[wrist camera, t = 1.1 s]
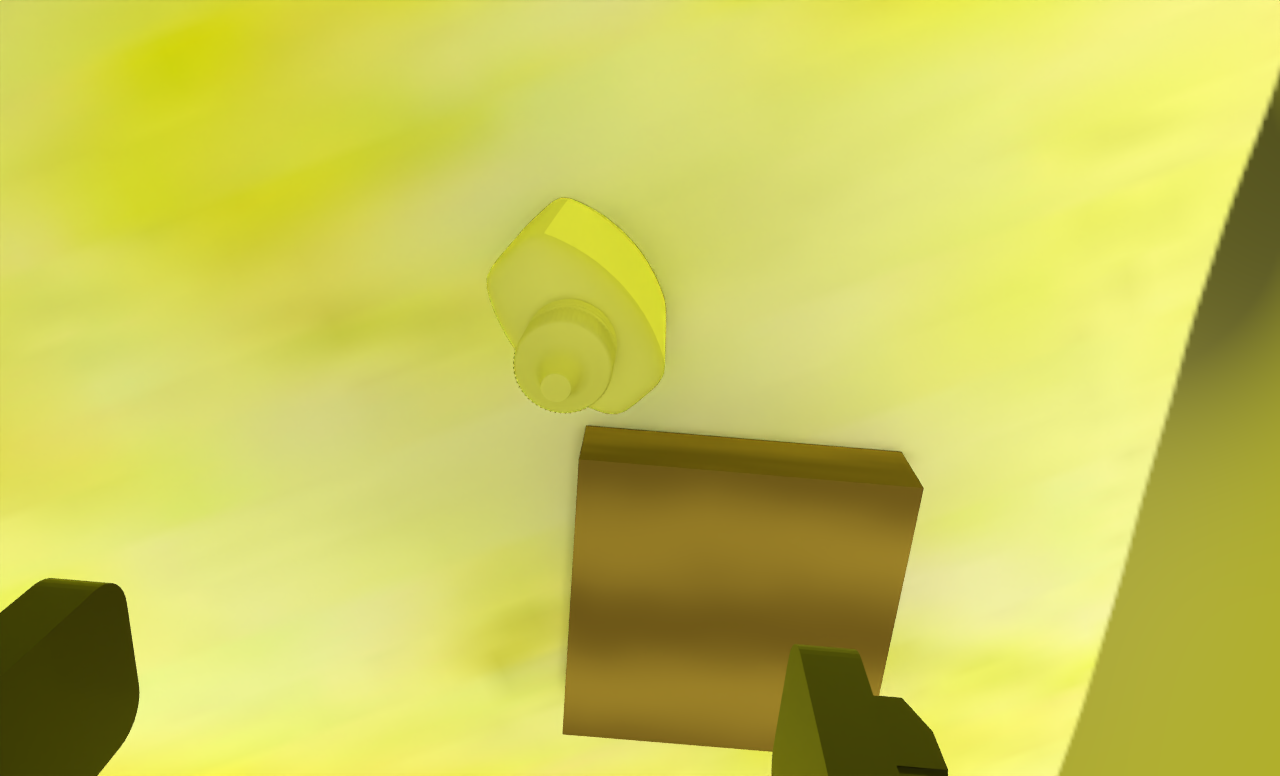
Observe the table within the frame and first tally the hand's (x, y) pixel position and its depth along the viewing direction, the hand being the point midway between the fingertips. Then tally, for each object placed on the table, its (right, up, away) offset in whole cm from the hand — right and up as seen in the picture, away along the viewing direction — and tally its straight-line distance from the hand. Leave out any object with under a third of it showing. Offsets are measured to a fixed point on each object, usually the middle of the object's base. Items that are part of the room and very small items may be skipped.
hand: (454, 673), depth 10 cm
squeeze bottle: (+1, +8, +21) cm, 22 cm away
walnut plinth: (+6, -4, +25) cm, 25 cm away
